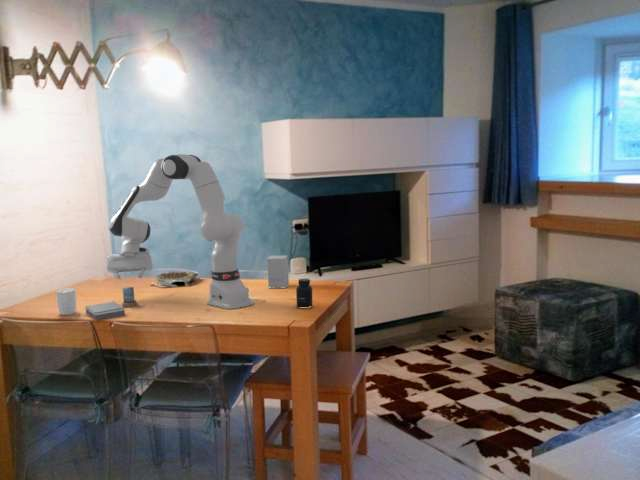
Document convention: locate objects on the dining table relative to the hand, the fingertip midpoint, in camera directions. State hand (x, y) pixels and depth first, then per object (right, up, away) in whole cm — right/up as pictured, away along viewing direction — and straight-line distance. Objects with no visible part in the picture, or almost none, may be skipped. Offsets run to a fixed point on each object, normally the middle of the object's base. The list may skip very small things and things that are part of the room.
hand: (129, 278), depth 271 cm
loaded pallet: (+2, -12, -6) cm, 13 cm away
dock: (-4, -14, -20) cm, 24 cm away
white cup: (-21, -14, -16) cm, 30 cm away
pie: (+13, -5, +39) cm, 42 cm away
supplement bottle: (+81, -11, -19) cm, 84 cm away
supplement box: (+67, -6, +22) cm, 70 cm away
